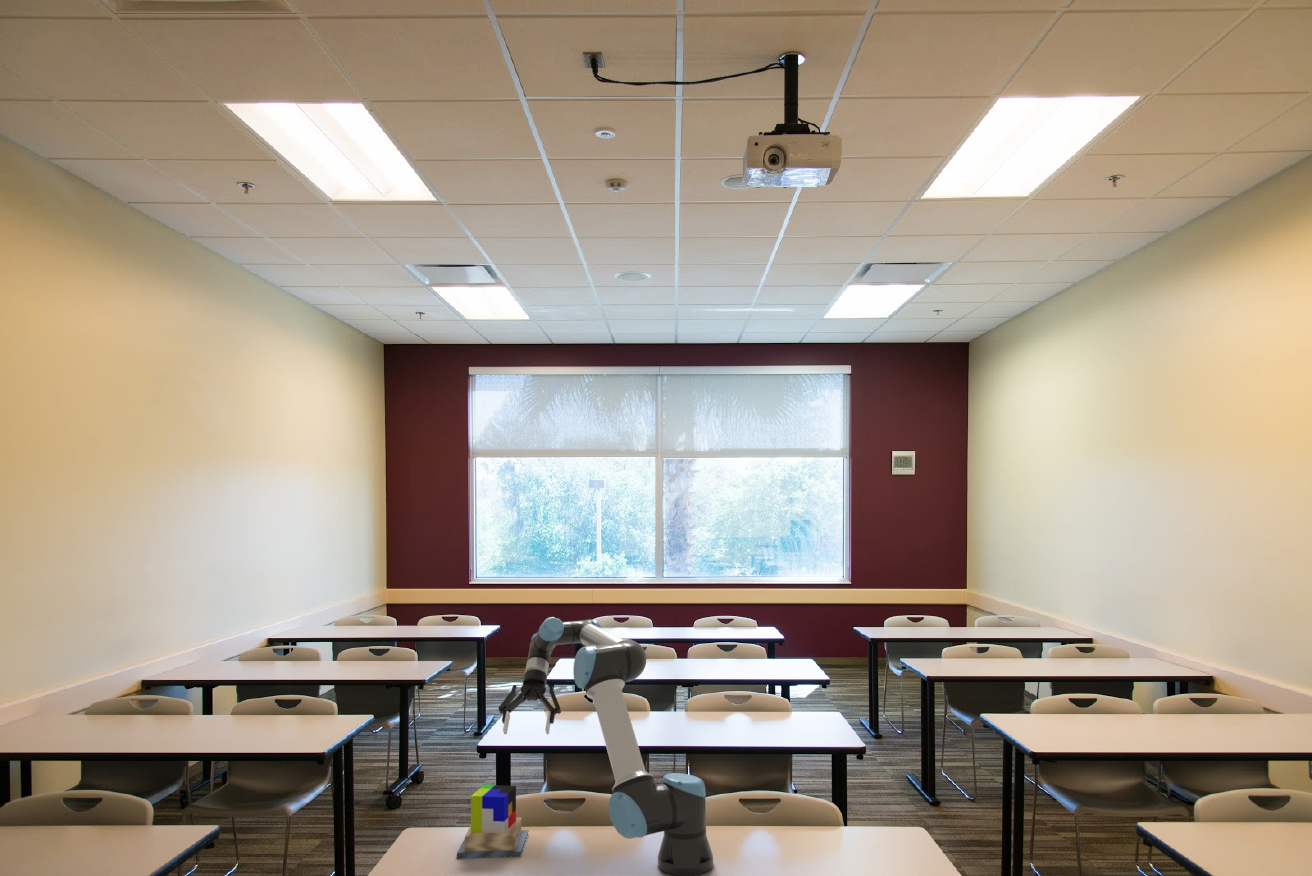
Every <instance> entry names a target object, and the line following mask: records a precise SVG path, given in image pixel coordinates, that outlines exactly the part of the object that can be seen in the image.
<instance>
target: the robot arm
mask: <svg viewBox="0 0 1312 876" xmlns="http://www.w3.org/2000/svg"><path fill="white" fill-rule="evenodd" d="M600 624H601V623H599V621H598V620H596V619H583V620H573V621H572V620H571V621H562V620H561V619H560V618H556V617H554V616H550V617H547V618H545V620H544V621H543V622H542V623H541V624H540V626H539V628H538V631H537V632H536V633H534V634H533V635H532V637H531V641H530V642H529V650H528V656H527V662H526V666H525V671H524V676H523V681H522V682H523V683H522V685H521V686H517V685H516V684H514V685H512V688H511V690H510V692H509V693H508V694H507V696H506V697H505V699H504V700H502V702H501V704H500V705H499V706H498V707H497V708H498V711H499V714H502V718H501V722H502V724H503V727H502V731H503V735H507V734H508V728H509V724H510V719H511V713H512V712H513V711H514V710H515V709H517V707H518V706H520V705H521V704H522V703H524V702H526V701H535V702H536V701H538V700H539V701H540V702H541V703H542V704H543V706H544V707H545V708H546V710H548V712H547V715H546V723H545V733H546V735H550V727H551V725H553V724H554V722H555V717H556V715H557V714H558V715H560V714H561V713H562V709H561V706H560V704H559V701H558V698H557V697H556V693H555V688H554V685H553V684H550V685H549V686H546V685H547V678H548V672H549V665H550V659H551V656H552V652H553V651H554V649H555V647H556V646H559V645H561V646H562V645H572V644H573V645H574V644H582V645H583V647H581V648H579V650H578V651H577V652H576V655H575V657H574V661H573V668H572V669H573V670H572V671H573V679H574V683H575V685H576V686H577V688H579V689H584V691H585V694H586V696H587V698H589V699H591V700H593V704H594V707H595V711H596V715H597V719H598V721H599V725H600V728H601V732H602V735H603V739H604V744H605V747H606V750H607V754H608V758H609V762H610V766H611V770H612V774H613V777H614V780H615V783H614V785H613V787H612V788H611V790H612V794H611V795H610V797H609V801H608V807H609V809H608V812H609V817H610V820H611V823H612V824H613V827H614V829H615V831H617V833H618V834H619V835H621V837H623V838H624V839H629V840H630V839H636V838H644V837H645V836H648V835H654V834H657V833H661V832H663V837H662V840H661V844H660V846H659V850H658V851H659V852H658V855H657V866H658V868H659V870H661V871H662V872H664V873H666V874H669V875H674V876H698V875H702V874H706V873H707V872H709V871H710V870H711V869H712V868H713V867H714V854H713V852H712V849H711V846H710V843H709V839H708V836H707V815H706V813H707V812H706V811H707V810H706V806H707V805H706V803H707V802H706V798H707V794H706V786H705V782H704V781H703V780H702V779H701V778H700V777H698V776H695V775H692V774H687V773H681V772H680V773H677V772H676V773H675V772H673V773H672V772H671V773H670V772H669V773H667V774H664V775H663V777H662V779H661V780H662V783H658V784H656V781H655V778H654V775H653V774H652V773H649V772H647V771H646V769H645V764H644V761H643V758H642V755H641V752H640V751H641V750H640V747H639V743H638V741H637V738H636V734H635V731H634V728H633V724H632V722H631V721H632V720H631V717H630V713H629V710H628V708H627V703H626V700H625V697H624V694H623V688H624V687H625V686H626V683H629V682H632V681H634V680H636V679H637V678H638V677H640V676H641V674H642V673H643V672H644V670H645V669H646V666H647V654H646V650H645V649H644V647H643V646H642V645H641V644H640V643H638V642H636V641H635V640H634V639H631V638H621V637H619V636H618V635H616V634H613V633H611V632H609V631H607V630H605V629H603V628H602V627H601V625H600ZM546 692H547V694H549V695H550V697H551V700H552V703H553V705H554V706H552V704H551V703H550V702H549V700H548V699H547V698H546V697H545V693H546ZM516 696H517V697H516Z"/></svg>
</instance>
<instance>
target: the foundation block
mask: <svg viewBox="0 0 1312 876" xmlns="http://www.w3.org/2000/svg"><path fill="white" fill-rule="evenodd" d="M528 832H529V829H522V817H517V816H516V821H515V823H514V824H513V825H512V826H511V827H510V828H509V829H508V830H507V831H506V832H505V834H496V833H476V832H471V825H470V827H469V828H468V830H467V832H466V834H465V835H464V838H463V840H462V843H461V845H460V846H459V848H458V850H457V852H456V860H458V859H493V858H494V859H495V858H497V859H499V858H521V857H522V856H523V852H524V850H523V848H524V849H525V847H524V845H525V846H526V844H525V842H526V843H527V841H526V839H527V840H528V838H527V836H528V837H529V835H528Z"/></svg>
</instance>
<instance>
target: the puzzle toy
mask: <svg viewBox="0 0 1312 876" xmlns="http://www.w3.org/2000/svg"><path fill="white" fill-rule="evenodd" d="M470 798H471V799H470V826H471V832H476V833H496V834H505V832H506V831H507V830H508V829H509V828H510V827H511V826H512V825H513V824H514V823H515V821H516V817H517V786H516V785H501V784H500V785H499V784H498V785H496V784H483V785H482V786H480V788H479V789H477V791H475V792H473V794H472V795H471V796H470Z"/></svg>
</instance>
